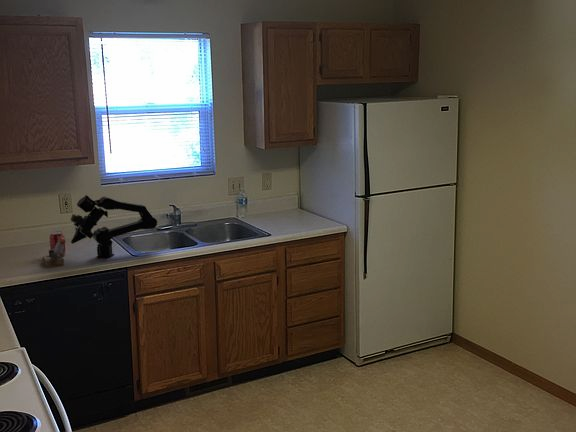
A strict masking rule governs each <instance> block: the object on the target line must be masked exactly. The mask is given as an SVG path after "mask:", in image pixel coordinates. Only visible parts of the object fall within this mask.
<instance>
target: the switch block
mask: <svg viewBox="0 0 576 432" xmlns="http://www.w3.org/2000/svg"><path fill="white" fill-rule="evenodd" d="M53 250H54V249H53ZM53 250H51V249H48V255H44V256H43V255H42V260H43V264H44V266H45V267H46V268H51V267H52V268H53V267H59V266H60V267H61V266H65V260H64V258H63V257H64V256H61V255H60V254H58V256H57V253H52V252H53Z"/></svg>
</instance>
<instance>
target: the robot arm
mask: <svg viewBox="0 0 576 432" xmlns="http://www.w3.org/2000/svg"><path fill="white" fill-rule="evenodd" d="M76 206H77V207H78V208H79V209H81V210H82V211H83V212H85V213H88V214H87V215H85V216H84V217H83V216H82V215H79V214H74V213H72V215H71V218H70V222H73V226H75V227H74V228H75V229H74V230H75V232H74V235H73V237H72V239H71V241H70V243H71V244H72V245H73V244H75V243H78V242H79V241H82V240H84V239H87V238H89V239H90V240H91V239H93V240H94V241H96V243H97V247H96V253H97V256H96V258H98V259H99V258H100V259H109V258H111V257H112V256H115V254H114V253H113V240H112V239H113V238H116V237H118V236H122V235H125V234H130V233H132V232H135V231H136V232H137V231H139V230H151V229H155V228H157V225H158V220H157V219H156V218H155V217H153V216H152V214H151V213H150V212H149V210H148V209H147V207H146V206H145V205H143V204H138V203H131V202H124V201H118V200H115V199H113V198H111V197H108V196H102V197H100V198H99V199H96V200H93V199H91V197H89V196H88V195H87V194H86V195H84V196H83V197H82V198H80V199H79V200H78V202H77V203H76ZM107 210H108V211H107ZM109 210H112V211H113V210H120V211H121V210H124V211H127V212H134V213H138V214H139V217H140V218H139V219H138V220H137V221H134V222H130V223H127V224H123V225H121V226H120V225H119V226H117V227H112V228H108V227H107V226H103V227H101V228H100V227H99V228H96V229H95V230H94V231H93V232H92V229H93V228H94V227H95V226H96V227H97V226H98V222H99V221H100V220H101V218H103V216H105V217H106V218H108V217H109V214H108V213H109Z"/></svg>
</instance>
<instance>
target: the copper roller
mask: <svg viewBox="0 0 576 432" xmlns="http://www.w3.org/2000/svg"><path fill="white" fill-rule="evenodd" d="M63 244H65V245H66V239H65V240H64V239H63V237H59V238H58V242H57V244H56V246H55V248H54V250H53V252H52V253H57V256H58V254H59V252H60V250H61V248H62V246H63Z"/></svg>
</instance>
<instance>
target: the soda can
mask: <svg viewBox="0 0 576 432" xmlns="http://www.w3.org/2000/svg"><path fill="white" fill-rule="evenodd" d="M59 237H63V239H64V240H65V241H66V239H65V235H64V233H63V231H59V230H58V231H57V230H56V231H51V232H50V235H49V248H50V249H49V250H53V249H54V248H55V246H56V244H57V242H58V238H59ZM66 249H67V248H66V243H65V244H63V246H62V248H61V250H60V252H59V254H60V255H61V256H62V257H64V256H65V255H66Z"/></svg>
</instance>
